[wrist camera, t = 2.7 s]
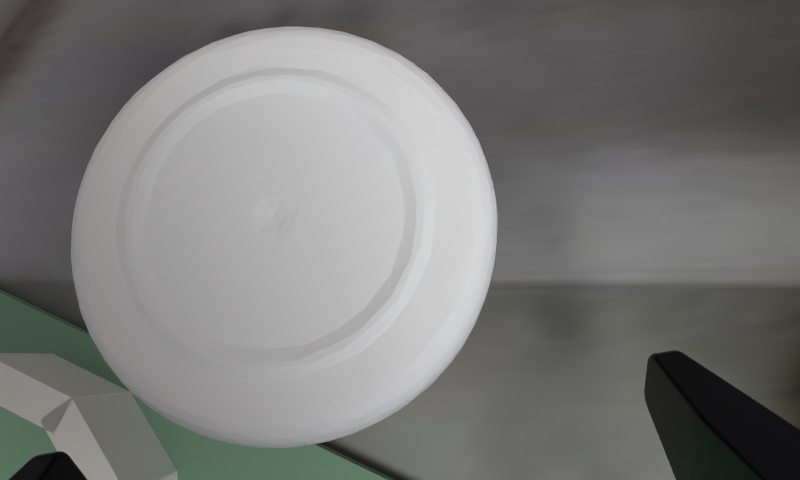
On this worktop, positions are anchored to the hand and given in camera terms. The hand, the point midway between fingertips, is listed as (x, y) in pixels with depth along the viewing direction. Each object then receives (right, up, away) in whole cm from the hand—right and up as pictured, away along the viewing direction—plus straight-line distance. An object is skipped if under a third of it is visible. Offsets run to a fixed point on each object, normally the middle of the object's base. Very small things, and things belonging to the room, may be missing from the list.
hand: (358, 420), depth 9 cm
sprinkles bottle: (0, 0, +10) cm, 10 cm away
